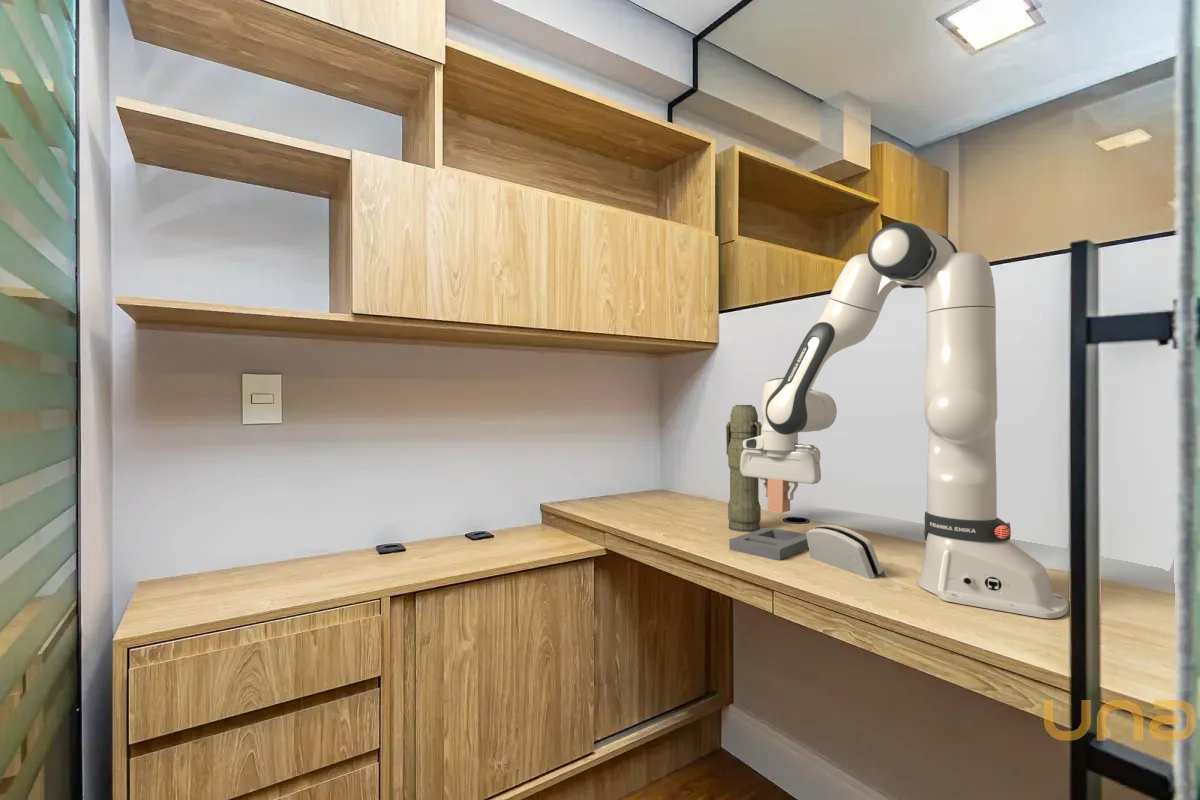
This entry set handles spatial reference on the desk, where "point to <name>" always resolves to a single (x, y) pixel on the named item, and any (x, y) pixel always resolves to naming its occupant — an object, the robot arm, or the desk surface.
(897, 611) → the desk surface
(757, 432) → the thermos
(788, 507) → the square peg
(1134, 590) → the desk surface
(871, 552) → the grey arched slotted block
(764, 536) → the socket block
